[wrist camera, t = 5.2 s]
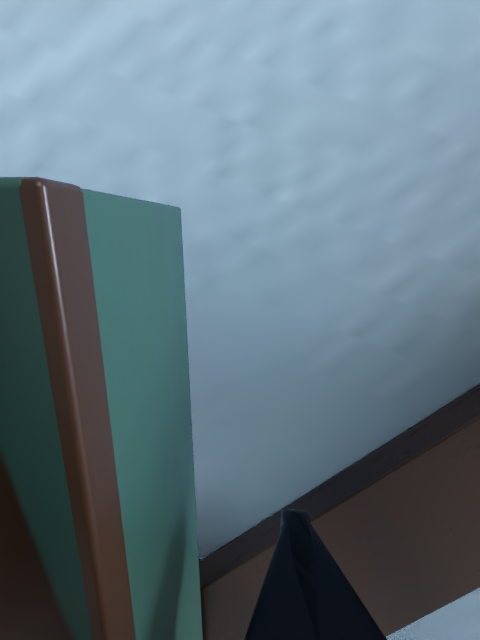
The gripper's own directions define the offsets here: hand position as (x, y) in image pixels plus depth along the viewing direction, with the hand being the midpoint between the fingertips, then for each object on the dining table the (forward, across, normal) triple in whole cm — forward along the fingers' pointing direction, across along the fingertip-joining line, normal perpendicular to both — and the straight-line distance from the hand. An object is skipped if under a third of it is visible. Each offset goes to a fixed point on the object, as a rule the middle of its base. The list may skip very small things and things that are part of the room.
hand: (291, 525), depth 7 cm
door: (+2, +4, +1) cm, 4 cm away
